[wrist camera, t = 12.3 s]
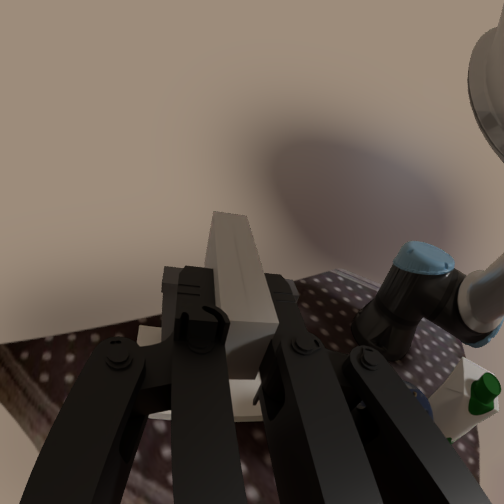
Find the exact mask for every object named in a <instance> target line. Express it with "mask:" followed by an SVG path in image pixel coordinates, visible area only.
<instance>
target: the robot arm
mask: <svg viewBox="0 0 504 504" xmlns="http://www.w3.org/2000/svg"><path fill="white" fill-rule="evenodd" d="M468 94H469V99H470V104H471V107H472V110H473V113H474V116H475V119H476V121H477V124H478V126H479V128H480V130H481V132H482V133H483V135H484V137H485V138H486V140H487V142H488V143H489V145H490V146H491V147H492V149H493V150H494V152H495V153H496V154H497V155H498V157H499V158H500V159H501V160H502V162H503V163H504V5H503V9H502V13H501V17H500V21H499V24H498V27H496V28H493V29H491V30H489V31H488V32H486V33H485V34H484V35H483V36H482V37H481V38H480V39H479V40H478V42H477V43H476V45H475V47H474V49H473V51H472V54H471V58H470V63H469V70H468ZM454 264H455V262H454V259H453V258H452V257H451V256H450V255H449V254H447V253H445V251H443V250H441V249H439V248H437V247H435V246H433V245H430V244H427V243H424V242H419V241H410V242H407V243H405V244H404V245H403V246H402V247H401V249H400V251H399V253H398V255H397V256H396V257H395V259H394V260H393V265H392V267H391V269H390V271H389V273H388V274H387V276H386V278H385V280H384V282H383V284H382V285H381V287H380V289H379V291H378V293H377V295H376V296H375V298H374V299H372V300H371V301H370V302H369V303H368V304H367V305H366V306H365V307H364V308H363V309H361V310H360V311H359V312H358V313H357V314H356V316H355V318H354V320H353V321H352V325H351V329H352V333H353V336H354V338H355V339H356V341H357V342H358V343H359V345H360V346H357V347H355V348H353V349H352V351H351V352H350V354H349V355H348V354H344V353H340V352H336V351H331V350H328V349H326V348H325V347H324V345H323V343H322V342H321V340H320V339H319V338H318V337H316V336H315V335H314V334H312V333H310V332H308V331H307V329H306V326H305V323H304V321H303V318H302V316H301V313H300V311H299V308H298V305H297V303H296V300H295V298H294V295H293V293H292V290H291V288H290V285H289V283H288V282H287V281H286V280H285V279H284V278H283V277H282V276H281V275H278V274H269V273H264V272H263V268H262V265H261V262H260V258H259V255H258V252H257V248H256V245H255V242H254V238H253V235H252V232H251V228H250V225H249V222H248V219H247V216H245V215H238V214H231V213H224V212H216V211H214V212H213V217H212V223H211V228H210V234H209V239H208V245H207V252H206V258H205V268H202V267H193V266H185V267H184V268H183V270H182V271H181V272H180V273H179V279H178V289H177V300H176V312H175V322H174V330H173V332H172V333H171V335H170V336H169V337H168V338H167V339H166V340H164V341H162V342H160V343H157V344H153V345H148V346H141V347H140V346H139V345H138V343H137V342H135V341H133V340H131V339H129V338H125V337H119V336H118V337H110V338H107V339H105V340H103V341H101V342H100V343H99V344H98V345H97V346H96V347H95V349H94V350H93V352H92V354H91V356H90V357H89V359H88V361H87V362H86V364H85V366H84V368H83V369H82V371H81V373H80V375H79V376H78V378H77V380H76V382H75V384H74V385H73V387H72V389H71V391H70V393H69V395H68V396H67V398H66V400H65V402H64V404H63V406H62V408H61V410H60V412H59V414H58V416H57V418H56V420H55V422H54V424H53V426H52V428H51V430H50V432H49V434H48V436H47V438H46V440H45V443H44V445H43V447H42V449H41V451H40V454H39V456H38V458H37V460H36V463H35V465H34V468H33V470H32V472H31V475H30V477H29V480H28V482H27V485H26V487H25V490H24V492H23V495H22V498H21V501H20V503H19V504H120V503H121V500H122V496H123V493H124V490H125V487H126V483H127V480H128V477H129V474H130V471H131V467H132V464H133V461H134V458H135V455H136V452H137V449H138V446H139V443H140V440H141V437H142V434H143V431H144V428H145V425H146V422H147V419H148V416H149V414H154V413H159V412H164V411H168V410H171V453H172V479H173V496H174V504H247V499H246V493H245V487H244V481H243V475H242V469H241V462H240V456H239V449H238V443H237V436H236V429H235V422H234V414H233V407H232V399H231V392H230V384H229V379H232V380H255V379H256V376H257V374H258V372H260V377H261V384H260V386H259V388H258V391H257V393H256V395H255V397H254V399H253V405H256V404H257V402H258V401H260V407H261V412H262V417H263V422H264V427H265V432H266V437H267V442H268V447H269V452H270V457H271V462H272V467H273V472H274V477H275V482H276V486H277V491H278V496H279V500H280V504H492V503H491V502H490V500H489V499H488V497H487V496H486V494H485V493H484V492H483V490H482V488H481V487H480V485H479V484H478V482H477V481H476V479H475V478H474V476H473V475H472V474H471V472H470V471H469V469H468V468H467V466H466V465H465V464H464V462H463V461H462V459H461V458H460V456H459V455H458V454H457V452H456V451H455V449H454V448H453V447H452V445H451V444H450V443H449V441H448V440H447V438H446V437H445V436H444V434H443V433H442V432H441V430H440V429H439V428H438V426H437V425H436V424H435V422H434V421H433V420H432V418H431V417H430V416H429V414H428V413H427V412H426V410H425V409H424V408H423V406H422V405H421V404H420V402H419V401H418V400H417V398H416V397H415V396H414V395H413V393H412V392H411V391H410V389H409V388H408V387H407V386H406V384H405V383H404V382H403V380H402V379H401V378H400V377H399V375H398V374H397V373H396V371H395V370H394V369H393V368H392V366H391V365H390V364H389V363H388V361H395V360H399V359H401V358H402V357H403V356H404V355H405V354H406V353H407V351H408V350H409V349H410V347H411V343H412V340H413V337H414V334H415V331H416V328H417V325H418V324H419V322H420V321H421V319H422V318H423V317H424V318H426V319H428V320H429V321H431V322H433V323H434V324H436V325H437V326H439V327H441V328H442V329H444V330H445V331H447V332H448V333H450V334H452V335H453V336H455V337H456V338H458V339H459V340H460V341H461V342H462V343H464V344H466V345H469V346H471V347H474V348H479V347H482V346H484V345H486V344H487V343H488V342H490V340H491V338H494V337H495V335H496V334H497V333H498V331H499V329H500V328H501V326H502V323H503V321H504V253H503V254H502V255H501V256H500V257H499V258H498V259H497V260H496V261H495V262H494V263H493V264H491V265H490V266H489V267H488V268H487V269H486V270H485V271H483V270H477V271H474V272H472V273H470V274H469V275H467V276H466V275H465V274H463V273H461V272H460V271H458V270H456V269H455V268H454ZM361 401H363V402H364V404H365V405H366V407H364V406H361V404H360V402H361Z"/></svg>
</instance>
